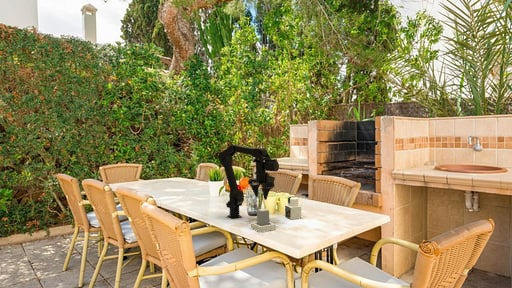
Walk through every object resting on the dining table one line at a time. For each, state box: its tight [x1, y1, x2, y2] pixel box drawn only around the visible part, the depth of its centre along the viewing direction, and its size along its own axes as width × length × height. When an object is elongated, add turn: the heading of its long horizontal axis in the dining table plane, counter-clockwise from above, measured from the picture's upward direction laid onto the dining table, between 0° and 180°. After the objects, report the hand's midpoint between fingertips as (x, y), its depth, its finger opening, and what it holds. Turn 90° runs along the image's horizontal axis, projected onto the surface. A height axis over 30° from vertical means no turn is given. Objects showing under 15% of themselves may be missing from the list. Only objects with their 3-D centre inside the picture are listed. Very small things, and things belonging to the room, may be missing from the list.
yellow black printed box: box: [284, 196, 302, 220], centre depth 203 cm, size 7×7×12 cm
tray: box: [250, 221, 277, 233], centre depth 181 cm, size 9×9×3 cm
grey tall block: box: [256, 208, 270, 226], centre depth 180 cm, size 4×4×9 cm
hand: (261, 198), depth 195 cm, fingers open, 9 cm apart
